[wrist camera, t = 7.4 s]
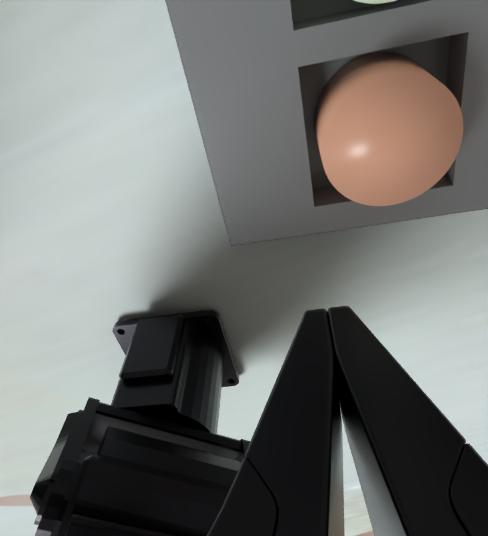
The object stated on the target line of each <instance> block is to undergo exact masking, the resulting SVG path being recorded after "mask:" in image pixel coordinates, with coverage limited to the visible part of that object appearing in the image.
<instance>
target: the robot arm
mask: <svg viewBox="0 0 488 536" xmlns="http://www.w3.org/2000/svg"><path fill="white" fill-rule="evenodd" d="M208 318H212V319H213V320H210V319H208ZM121 329H123V330H121ZM113 333H114V335H115V337H116V339H117V340H118V342H119V344H120V346H121V348H122V350H123V351H124V353H125V355H126V357H125V360H124V363H123V365H122V368H121V371H120V374H119V377H120V379H119V382H118V385H117V388H116V391H115V394H114V397H113V400H112V403H111V405H108V404H105V403H101V402H99V401H100V400H97V399H94V398H90V397H89V399H88V401H87V404H86V406H85V409H84V411H83V410H79V412H75V413H70V414H68V416H67V418H66V420H65V423H64V425H63V427H62V430H61V432H60V434H59V437H58V439H57V441H56V444H55V446H54V448H53V450H52V452H51V454H50V456H49V458H48V460H47V462H46V464H45V466H44V468H43V470H42V472H41V474H40V475H39V477H38V479H37V481H36V483H35V486H34V488H33V491H32V493H31V496H30V499H31V501H32V503H33V506H34V508H35V510H36V513H37V516H36V519H35V523H34V524H35V525H39V526H38V528H37V531H36V534H35V536H344V494H343V448H342V419H343V423H344V427H345V431H346V435H347V438H348V442H349V445H350V449H351V453H352V456H353V460H354V463H355V467H356V471H357V474H358V478H359V481H360V485H361V488H362V492H363V496H364V499H365V503H366V506H367V510H368V514H369V517H370V521H371V524H372V528H373V532H374V535H375V536H488V464H487V463H486V462H485V461H484V460H483V459H482V458H481V456H480V455H479V454H478V453H477V452H476V451H475V450H474V448H473V447H472V446H471V445H470V444H465V443H466V440H465V438H464V437H463V436H462V435H461V434H460V433H459V432H458V430H457V429H456V428H455V427H454V426H453V425H452V424H451V422H450V421H449V420H448V419H447V418H446V417H445V416H444V414H443V413H442V412H441V411H440V410H439V409H438V408H437V406H436V405H435V404H434V403H433V402H432V401H431V400H430V398H429V397H428V396H427V395H426V394H425V393H424V392H423V390H422V389H421V388H420V387H419V386H418V385H417V384H416V382H415V381H414V380H413V379H412V378H411V377H410V376H409V374H408V373H407V372H406V371H405V370H404V369H403V368H402V366H401V365H400V364H399V363H398V362H397V361H396V360H395V358H394V357H393V356H392V355H391V354H390V353H389V352H388V350H387V349H386V348H385V347H384V346H383V345H382V344H381V342H380V341H379V340H378V339H377V338H376V337H375V336H374V334H373V333H372V332H371V331H370V330H369V329H368V328H367V326H366V325H365V324H364V323H363V322H362V321H361V320H360V318H359V317H358V316H357V315H356V314H355V313H354V312H353V310H352V309H351V308H350V307H348V306H341V307H332V308H329V309H328V311H326V309H315V310H308V311H306V312H305V313H304V315H303V318H302V320H301V322H300V325H299V327H298V330H297V332H296V334H295V337H294V339H293V341H292V344H291V346H290V349H289V351H288V353H287V356H286V358H285V361H284V363H283V365H282V368H281V370H280V373H279V375H278V377H277V380H276V382H275V384H274V387H273V389H272V392H271V394H270V396H269V399H268V401H267V404H266V406H265V408H264V411H263V413H262V415H261V418H260V420H259V423H258V425H257V427H256V430H255V432H254V435H253V437H252V439H251V442H250V441H247V440H243V439H241V440H236V439H233V438H229V437H225V436H222V435H218V434H217V427H218V417H219V407H220V397H221V387H228V386H235V385H237V384H238V383H239V374H238V371H237V368H236V365H235V362H234V359H233V356H232V353H231V349H230V346H229V343H228V340H227V337H226V334H225V331H224V328H223V325H222V322H221V319H220V316H219V314H218V313H217V312H216V311H213V310H208V311H199V312H191V313H183V314H175V315H167V316H159V317H150V318H142V319H134V320H126V321H119V322H117V323H115V326H114V328H113ZM340 408H341V410H340ZM341 413H342V419H341Z"/></svg>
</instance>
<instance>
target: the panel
mask: <svg viewBox="0 0 488 536" xmlns="http://www.w3.org/2000/svg"><path fill="white" fill-rule="evenodd" d="M165 1H166V4H167V8H168V12H169V16H170V19H171V23H172V27H173V31H174V34H175V38H176V42H177V46H178V49H179V53H180V57H181V61H182V64H183V68H184V72H185V76H186V79H187V83H188V87H189V91H190V94H191V98H192V102H193V105H194V109H195V113H196V117H197V120H198V124H199V128H200V132H201V135H202V139H203V143H204V147H205V150H206V154H207V158H208V162H209V165H210V169H211V173H212V177H213V180H214V184H215V188H216V192H217V195H218V199H219V203H220V207H221V210H222V214H223V218H224V221H225V225H226V229H227V233H228V236H229V240H230V244H231V246H234V245H241V244H248V243H254V242H261V241H268V240H275V239H282V238H289V237H296V236H303V235H310V234H316V233H323V232H330V231H337V230H344V229H351V228H358V227H365V226H371V225H378V224H385V223H392V222H399V221H406V220H413V219H420V218H427V217H433V216H440V215H447V214H454V213H461V212H468V211H475V210H482V209H488V0H396V1H393V2H387V3H380V4H369V3H363V2H357V1H354V0H165ZM379 52H390V53H396V54H400V55H403V56H406V57H408V58H410V59H412V60H413V61H414V62H416V63H417V64H418V65H420V66H421V67H422V68H423V69H425V70H426V71H427V72H428V73H430V74H431V75H432V76H433V77H435V78H436V79H437V80H438V81H440V82H441V83H442V84H444V85H445V86H446V87H447V88H448V89H449V90H450V91H451V92H452V94H453V95H454V97H455V98H456V99H457V102H458V104H459V106H460V109H461V112H462V116H463V137H462V142H461V146H460V149H459V152H458V154H457V156H456V158H455V160H454V162H453V163H452V165H451V167H450V168H449V170H448V171H447V172H446V173H445V175H444V176H443V177H442V178H441V179H440V180H439V181H438V182H437V183H436V184H435V185H434V186H432V187H431V188H430V189H428V190H427V191H425V192H424V193H422V194H421V195H419V196H417V197H415V198H413V199H411V200H408V201H406V202H402V203H399V204H395V205H389V206H370V205H364V204H360V203H357V202H355V201H352V200H350V199H348V198H347V197H345V196H344V195H342V194H341V193H340V192H338V191H337V189H336V188H335V187H334V186H333V185H332V184H331V182H330V181H329V179H328V177H327V175H326V173H325V170H324V167H323V163H322V159H321V155H320V151H319V147H318V143H317V140H316V136H315V130H314V113H315V108H316V104H317V101H318V98H319V96H320V94H321V92H322V90H323V88H324V87H325V85H326V84H327V82H328V81H329V80H330V79H331V77H332V76H333V75H334V74H335V73H336V72H337V71H338V70H339V69H341V68H342V67H343V66H345V65H346V64H347V63H349V62H351V61H353V60H354V59H357V58H359V57H361V56H364V55H368V54H371V53H379Z"/></svg>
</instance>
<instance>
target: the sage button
mask: <svg viewBox="0 0 488 536" xmlns="http://www.w3.org/2000/svg"><path fill="white" fill-rule="evenodd" d="M354 1H357V2H363V3H369V4H380V3H387V2H393V1H396V0H354Z"/></svg>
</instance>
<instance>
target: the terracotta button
mask: <svg viewBox="0 0 488 536" xmlns="http://www.w3.org/2000/svg"><path fill="white" fill-rule="evenodd" d="M314 130H315V136H316V140H317V143H318V147H319V151H320V155H321V159H322V163H323V167H324V170H325V173H326V175H327V177H328V179H329V181H330V182H331V184H332V185H333V186H334V187H335V188H336V189H337V191H338V192H340V193H341V194H342V195H344V196H345V197H347V198H348V199H350V200H352V201H355V202H357V203H360V204H364V205H370V206H389V205H395V204H399V203H402V202H406V201H408V200H411V199H413V198H415V197H417V196H419V195H421V194H422V193H424V192H425V191H427V190H428V189H430V188H431V187H432V186H434V185H435V184H436V183H437V182H438V181H439V180H440V179H441V178H442V177H443V176H444V175H445V173H446V172H447V171H448V170H449V168H450V167H451V165H452V163H453V162H454V160H455V158H456V156H457V154H458V152H459V149H460V146H461V142H462V137H463V116H462V112H461V109H460V106H459V104H458V102H457V99H456V98H455V97H454V95H453V94H452V92H451V91H450V90H449V89H448V88H447V87H446V86H445V85H444V84H442V83H441V82H440V81H438V80H437V79H436V78H435V77H433V76H432V75H431V74H430V73H428V72H427V71H426V70H425V69H423V68H422V67H421V66H420V65H418V64H417V63H416V62H414V61H413V60H412V59H410V58H408V57H406V56H403V55H400V54H396V53H390V52H379V53H371V54H368V55H364V56H361V57H359V58H357V59H354V60H353V61H351V62H349V63H347V64H346V65H345V66H343V67H342V68H341V69H339V70H338V71H337V72H336V73H335V74H334V75H333V76H332V77H331V79H330V80H329V81H328V82H327V84H326V85H325V87H324V88H323V90H322V92H321V94H320V96H319V98H318V101H317V104H316V108H315V113H314Z"/></svg>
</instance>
